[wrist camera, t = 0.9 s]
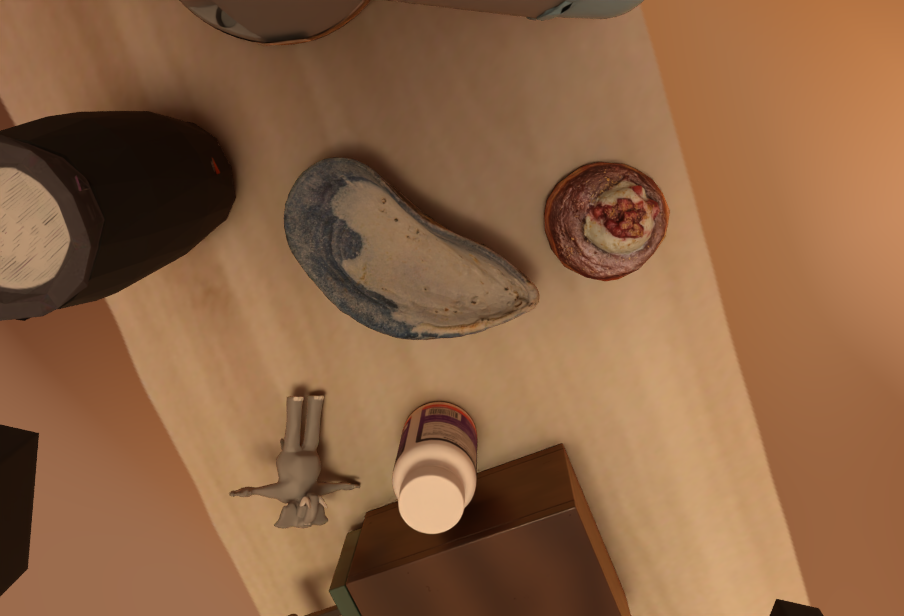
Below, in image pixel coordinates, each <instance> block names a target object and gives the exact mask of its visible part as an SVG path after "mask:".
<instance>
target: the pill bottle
mask: <svg viewBox="0 0 904 616" xmlns="http://www.w3.org/2000/svg"><path fill="white" fill-rule="evenodd" d="M476 480H477V432H476V428H475V425H474V423H473V421H472V419H471V418H470V416H469V415H468V414H467V413H466V412H465V411H464V410H462V409H461V408H459V407H457V406H455V405H453V404H450V403H446V402H433V403H429V404H426V405H423V406H421V407H419V408H418V409H417V410H415V411H414V412H413V413H412V414H411V415H410V417H409V418H408V420H407V421H406V423H405V426H404V429H403V432H402V436H401V441H400V445H399V449H398V453H397V457H396V461H395V465H394V469H393V477H392V482H393V489H394V492H395V495H396V497H397V499H398V507H399V512H400V514H401V516H402V518H403V519H404V521H405V522H406V523H407V524H408V525H409V526H410V527H412V528H413V529H415V530H417V531H419V532H423V533H427V534H436V533H441V532H444V531H447V530H449V529H451V528H452V527H453V526H455V525H456V524H457V523H458V521H459V520H460V518H461V516H462V514H463V511H464V508H465V507H466V506H467V505H468V504H469V502H470V501H471V499H472V497H473V495H474V492H475V488H476Z"/></svg>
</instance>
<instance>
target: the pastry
mask: <svg viewBox="0 0 904 616" xmlns="http://www.w3.org/2000/svg"><path fill="white" fill-rule="evenodd" d="M669 214H670V210H669V208H668V205H667V203H666V200H665V198H664V195H663V193H662V192H661V190H660V189H659V188H658V186H657V185H656V184H655V182H654V181H653V180H652V179H651V178H650V177H648V176H646V175H645V174H643V173H642V172H640V171H638V170H637V169H635V168H632V167H630V166H628V165H625V164H618V163H604V162H596V163H592V164H589V165H585V166H582V167H580V168H579V169H578V170H576V171H575V172H573V173H572V174H571V175H569V176H568V177H566V178H565V179H564V180H562V181H561V182H560V183H558V184H557V185H556V186H555V188H554V190H553V191H552V193H551V195H550V196H549V198H548V200H547V202H546V207H545V213H544V217H545V232H546V235H547V238H548V241H549V244H550V247H551V249H552V251H553V252H554V253H555V255H556V256H557V257H558V259H559V260H560V261H561V263H562V264H563V265H564V267H566V268H568V269H570V270H572V271H574V272H576V273H578V274H580V275H582V276H584V277H587V278H592V279H597V280H602V281H610V280H617V279H620V278H622V277H624V276H626V275H628V274H630V273H632V272H634V271H636V270H638V269H639V268H640V267H641V266H642V265H643V264H644V263H645V262H646V261H647V260H648V259H649V258H650V257H651V256H652V255H653V254H654V252H655V251H656V249H657V248H658V247H659V245H660V244H661V242H662V241H663V239H664V238H665V236H666V231H667V225H668V220H669Z"/></svg>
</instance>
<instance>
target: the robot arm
mask: <svg viewBox="0 0 904 616" xmlns="http://www.w3.org/2000/svg"><path fill="white" fill-rule="evenodd" d="M180 1H181V2H182V3H183V4H184V5H185V6H186V7H187V8H188V9H189V10H190V11H191V12H192V13H193V14H195V15H196V16H197V17H199V18H200V19H201V20H203V21H204V22H206V23H207V24H209V25H211V26H212V27H214V28H216V29H218V30H220V31H222V32H224V33H226V34H229V35H231V36H234V37H237V38H240V39H244V40H248V41H252V42H257V43H263V44H258V45H263V46H270V45H292V44H299V43H305V42H308V41H312V40H316V39H318V38H321V37H323V36H326V35H328V34H330V33H332V32H334V31H336V30H338V29H339V28H341V27H342V26H344V25H345V24H347V23H348V22H349V21H350V20H352V19H353V18H354V17H355V16H357V15H358V14H359V13H360V12H361V11H362V10H363V9H364V7H365V6H366V5H367V4H368V3H369V2H370V0H180ZM390 1H398V2H406V3H414V4H423V5H431V6H439V7H448V8H456V9H464V10H473V11H481V12H489V13H498V14H506V15H514V16H522V17H526V18H528V19H530V20H536V19H537V20H541V21H544V20H549V19H553V18H555V17H563V18H590V19H607V18H612V17H617V16H620V15H622V14H625V13H627V12H629V11H630V10H632V9H633V8H635V7H636V6H638V5H639V4H640V3H642V2H643V1H644V0H390ZM38 438H39V433H35V432H31V431H27V430H22V429H18V428H13V427H9V426H5V425H0V596H1V595H2V594H3V593H4V592H5V591H6V590H7V589H8V588H9V587H10V586H11V585H12V584H13V583H14V582H15V581H16V580H17V579H18V578H19V577H20V576H21V575H22V574H23V573H24V572H25V571H26V570H27V569H28V559H29V547H30V534H31V522H32V510H33V498H34V486H35V474H36V461H37V450H38ZM770 616H823V614H822V613H821V611H820V610H819V609H818V608H814V607H810V606H806V605H801V604H797V603H793V602H788V601H784V600H779V599H776V601H775V604H774V606H773V609H772V611H771V614H770Z"/></svg>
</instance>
